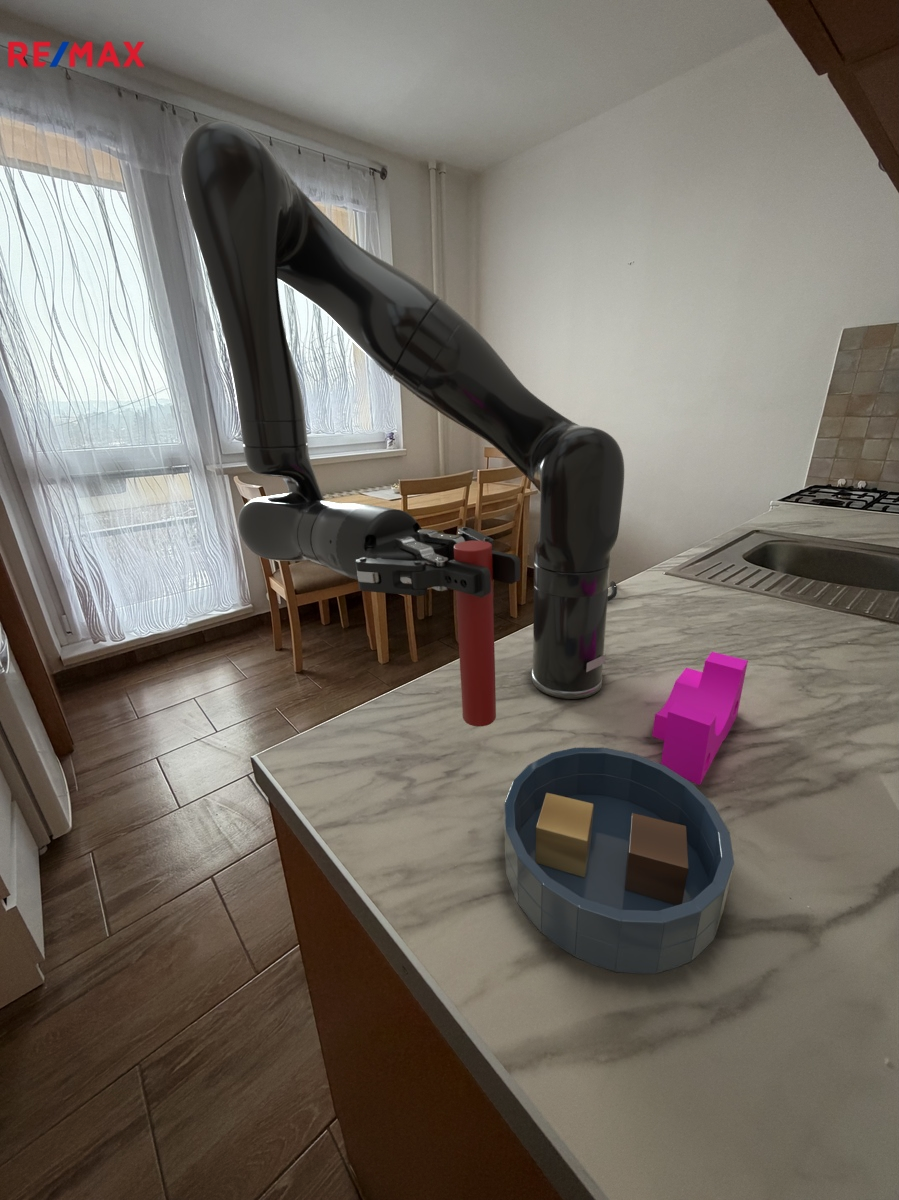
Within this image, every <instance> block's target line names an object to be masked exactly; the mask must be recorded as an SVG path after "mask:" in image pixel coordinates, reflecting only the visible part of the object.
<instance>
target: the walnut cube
mask: <svg viewBox="0 0 899 1200" xmlns="http://www.w3.org/2000/svg"><path fill="white" fill-rule="evenodd" d="M687 874H688V850H687V831H686V826H684V825H680V824H676V823H671V822H667V821H663V820H659V819H655V818H651V817H647V816H642V815H638V814H634V813H632V817H631V826H630V835H629V844H628V855H627V868H626V880H625V890H627V891H630V892H634V893H637V894H640V895H644V896H647V897H650V898H654V899H657V900H660V901H664V902H667V903H670V904H674V905H680V904H682V902H683V896H684V890H685V885H686V879H687Z"/></svg>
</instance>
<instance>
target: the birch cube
mask: <svg viewBox="0 0 899 1200" xmlns="http://www.w3.org/2000/svg"><path fill="white" fill-rule="evenodd" d="M593 808H594V805H593V804H592V803H588V802H584V801H580V800H575V799H571V798H567V797H563V796H559V795H555V794H551V793H546V795H545V799H544V802H543V806H542V809H541V812H540V816H539V819H538V823H537V826H536V863H537V864H541V865H544V866H548V867H551V868H554V869H558V870H561V871H564V872H568V873H571V874H574V875H578V876H581V877H585V874H586V868H587V862H588V856H589V850H590V843H591V835H592V822H593Z"/></svg>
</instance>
